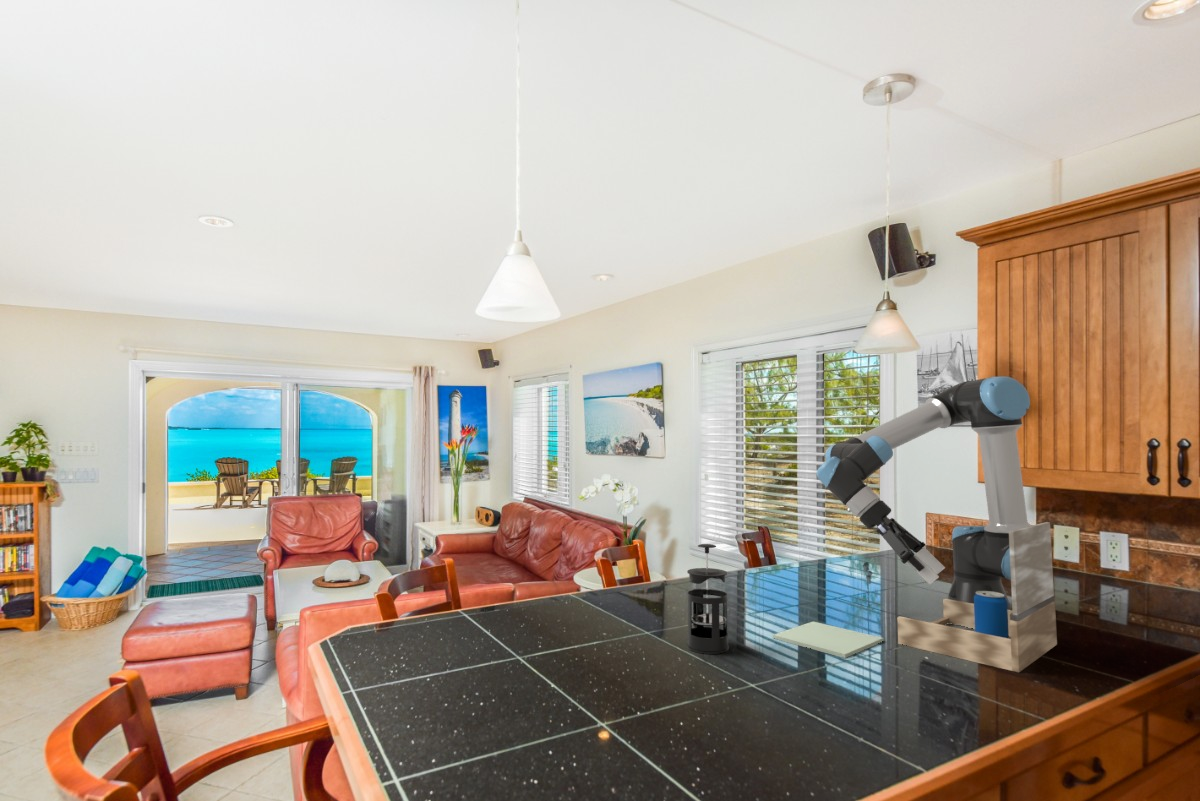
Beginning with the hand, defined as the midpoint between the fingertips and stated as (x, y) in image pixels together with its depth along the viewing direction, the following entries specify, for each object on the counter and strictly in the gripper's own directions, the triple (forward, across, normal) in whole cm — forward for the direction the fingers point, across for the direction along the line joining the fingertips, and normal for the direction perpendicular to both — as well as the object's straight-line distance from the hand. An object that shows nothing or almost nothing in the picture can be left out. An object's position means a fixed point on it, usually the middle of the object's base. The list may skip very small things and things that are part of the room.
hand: (938, 575), depth 147 cm
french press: (-20, +37, -41) cm, 59 cm away
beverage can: (+18, 0, -3) cm, 18 cm away
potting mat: (-5, +16, -26) cm, 31 cm away
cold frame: (+16, -1, -5) cm, 17 cm away
